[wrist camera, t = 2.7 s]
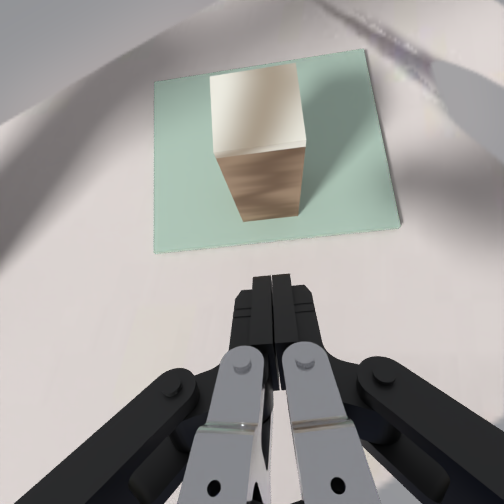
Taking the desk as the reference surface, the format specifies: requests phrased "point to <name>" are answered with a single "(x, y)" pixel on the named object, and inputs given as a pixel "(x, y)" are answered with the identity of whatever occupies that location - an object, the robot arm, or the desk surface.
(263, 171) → the walnut block
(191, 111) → the sage mat
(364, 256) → the desk surface
